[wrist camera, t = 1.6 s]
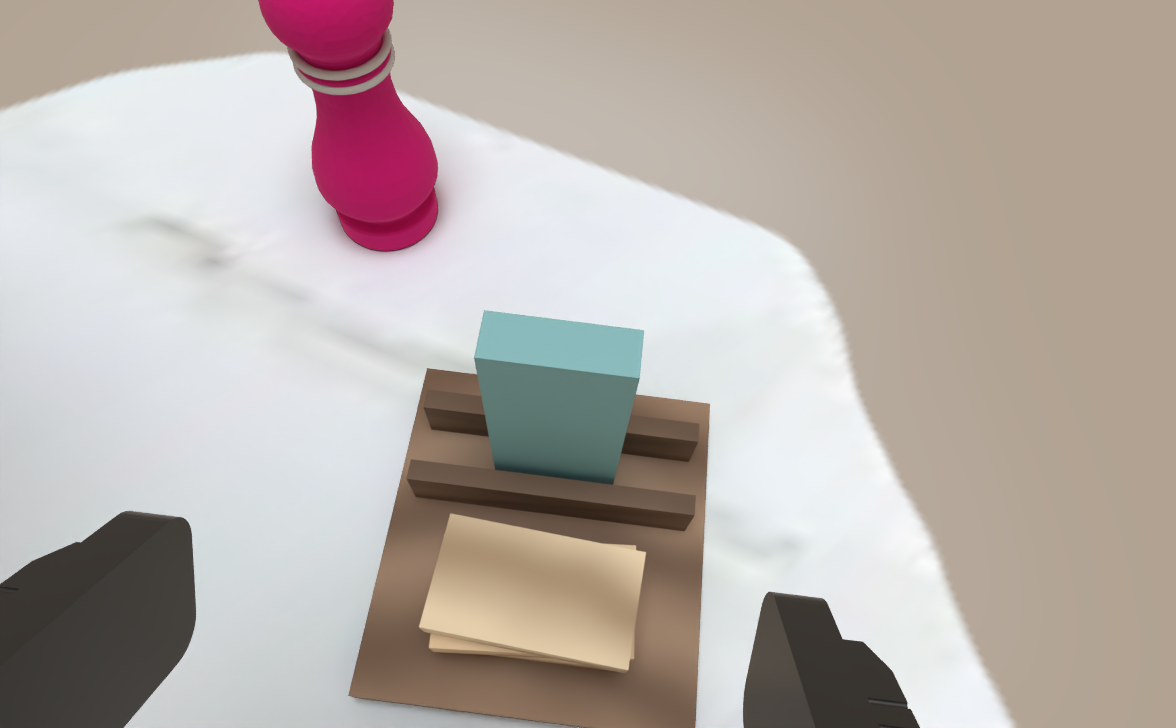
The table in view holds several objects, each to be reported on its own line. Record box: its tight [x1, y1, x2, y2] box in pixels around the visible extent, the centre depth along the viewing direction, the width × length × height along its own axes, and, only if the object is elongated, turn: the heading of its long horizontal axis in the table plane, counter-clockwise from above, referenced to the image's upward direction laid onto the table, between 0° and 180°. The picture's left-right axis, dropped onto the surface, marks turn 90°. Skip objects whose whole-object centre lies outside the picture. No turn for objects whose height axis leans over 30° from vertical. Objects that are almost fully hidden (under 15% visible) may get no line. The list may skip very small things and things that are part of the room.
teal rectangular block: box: [474, 310, 644, 485], centre depth 34 cm, size 2×6×14 cm, turn 83°
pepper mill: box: [258, 0, 438, 251], centre depth 40 cm, size 7×7×20 cm
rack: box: [348, 368, 710, 728], centre depth 38 cm, size 17×16×4 cm
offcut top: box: [419, 513, 646, 673], centre depth 33 cm, size 5×9×2 cm, turn 79°
